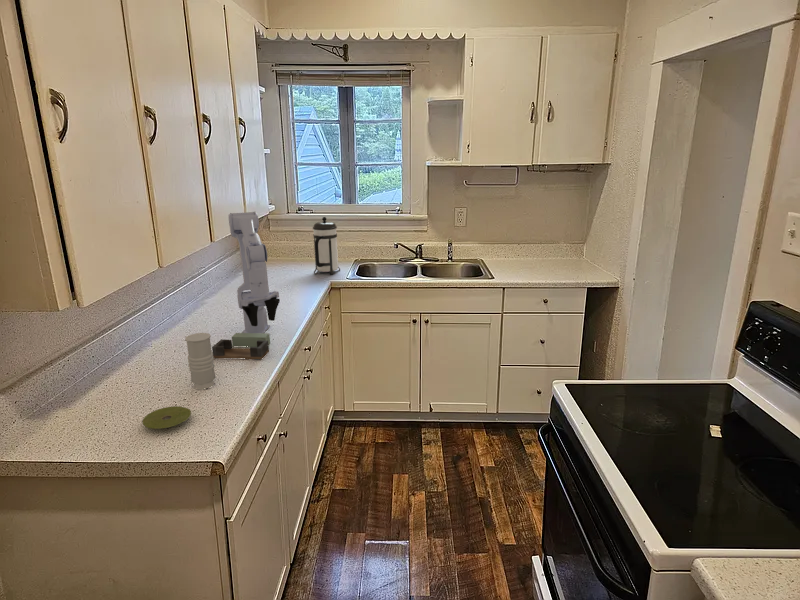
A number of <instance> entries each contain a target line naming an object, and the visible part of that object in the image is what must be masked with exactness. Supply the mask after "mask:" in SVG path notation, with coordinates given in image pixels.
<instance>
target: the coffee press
mask: <svg viewBox="0 0 800 600" xmlns="http://www.w3.org/2000/svg"><path fill="white" fill-rule="evenodd" d="M321 219H322V221H318V222H317V221H316V222H315V223H313V226H312V230H313V235H312V238H313V244H314V245H313V246H314V261H315V265H314V266H315V270H314V271H313V273H314V274H315V275H317V274H318V273H319V272H321V273H322V272H323V273H329V274H330V276H334V275H335V273H334V272H335V271H338V272H340V271H341V268H340V267H339V259H338V258H339V257H338V233H337V228H338V226H337V225H336V223H335V222H333V221H330V220H329V221H328V220H327V217H326V216H322V218H321Z"/></svg>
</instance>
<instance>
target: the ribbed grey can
mask: <svg viewBox="0 0 800 600" xmlns="http://www.w3.org/2000/svg"><path fill="white" fill-rule="evenodd" d="M184 340H185V341H186V346H187V352H188V353H187V354H188V356H187V363H188V367H189V368H188V369H189V371H190V382H191V383H192V384H193V389H195V388H197V389H204V388H208V387H211V386H213V385H214V382H215V381H214V380H215V379H216V378H217V377H216V372H215V360H214V358H213V351H212V345H211V344H212V343H211V334H210V333H207V332H198V333H197V332H196V333H192V334H191V333H190V335H187V336H185V339H184ZM214 386H215V385H214ZM214 386H213V387H214ZM211 388H212V387H211ZM197 389H196V390H197ZM208 389H209V388H208ZM204 390H205V389H204Z"/></svg>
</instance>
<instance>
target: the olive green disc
mask: <svg viewBox="0 0 800 600" xmlns="http://www.w3.org/2000/svg"><path fill="white" fill-rule="evenodd" d="M191 415H192V412H191V410H190V409H189V408H188V407H185V406H178V405H177V406H176V405H174V406H166V407H162V408H158V409H156V410H153V411H151V412H150V413H148V414H146V416H144V418H143V419H142V425H143V426H144V427H146V428H148V429H153V430H154V429H155V430H160V429H166V428H167V429H168V428H171V427H175V426H178V425H179V424H182V423H184V422H185V421H187V420H188V419H189V418H190V417H191Z"/></svg>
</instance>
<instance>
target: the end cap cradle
mask: <svg viewBox="0 0 800 600" xmlns="http://www.w3.org/2000/svg"><path fill="white" fill-rule="evenodd" d="M269 346H270V344H269V345H268V341H264V340H258V341H257V347H233V344H232V339H220V340H218V342H216V343H215V344H214V345H213V346H211V351H212V353H213V358H245V359H244V360H249V359H262V358H263V357H264V356H265V355H266V354H267V353H268V354H269V352H270V348H269ZM268 354H267V355H268ZM267 355H266V356H267ZM266 356H265V357H266ZM265 357H264V358H265ZM264 358H263V359H264ZM263 359H262V360H263Z"/></svg>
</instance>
